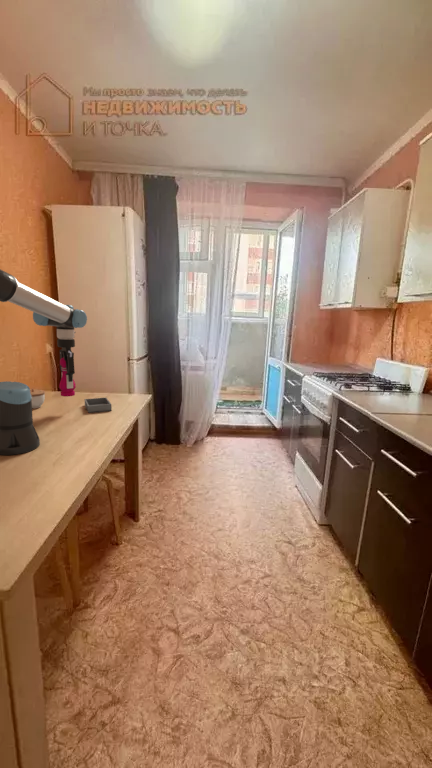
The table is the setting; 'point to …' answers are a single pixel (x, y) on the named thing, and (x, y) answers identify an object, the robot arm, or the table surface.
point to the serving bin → (97, 405)
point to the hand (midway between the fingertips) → (67, 386)
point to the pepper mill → (65, 381)
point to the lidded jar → (37, 398)
